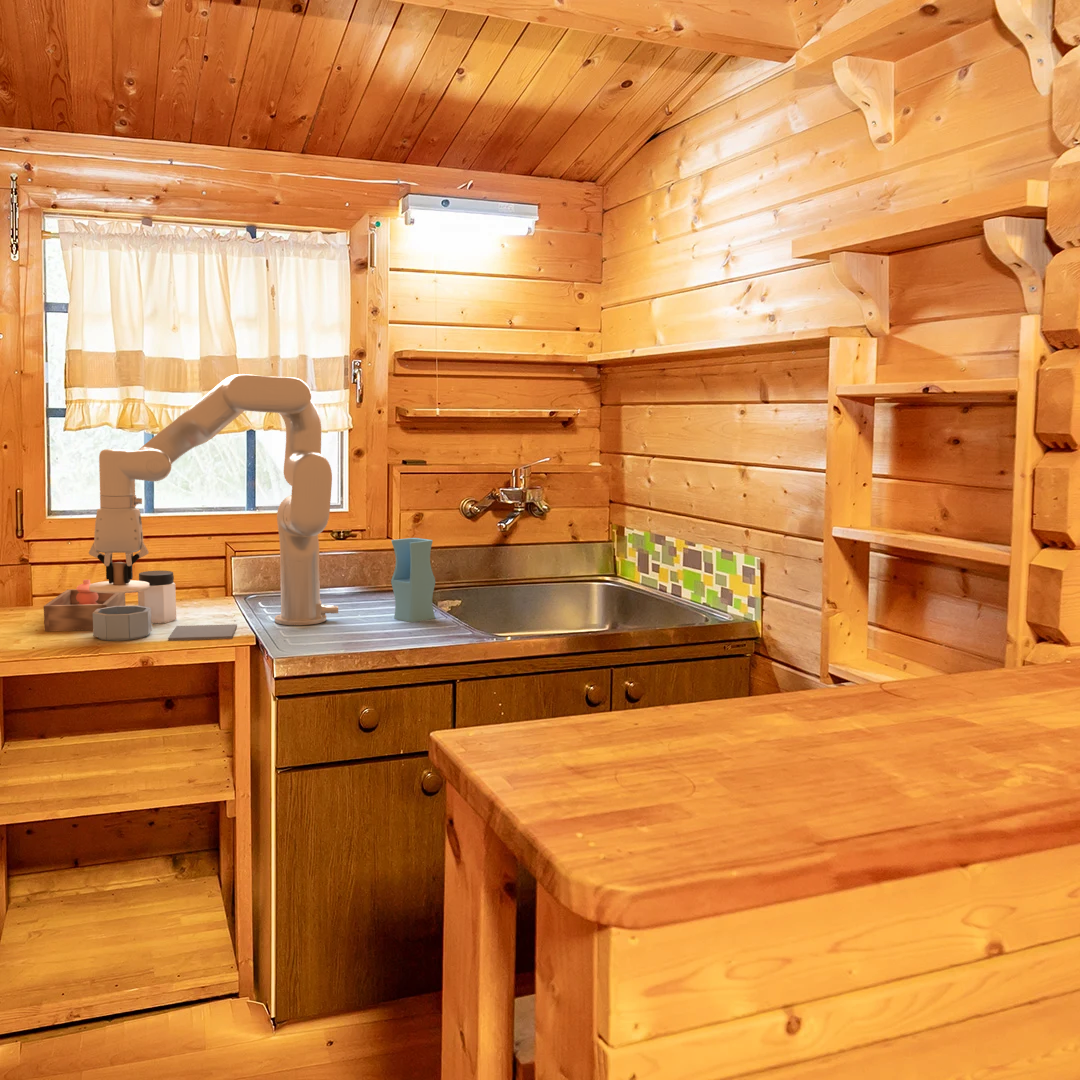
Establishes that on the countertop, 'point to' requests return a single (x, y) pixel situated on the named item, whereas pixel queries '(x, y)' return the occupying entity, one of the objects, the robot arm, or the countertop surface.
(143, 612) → the bowl
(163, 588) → the jar
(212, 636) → the mat
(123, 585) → the lid
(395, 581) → the vase
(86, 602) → the pottery
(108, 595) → the tray
